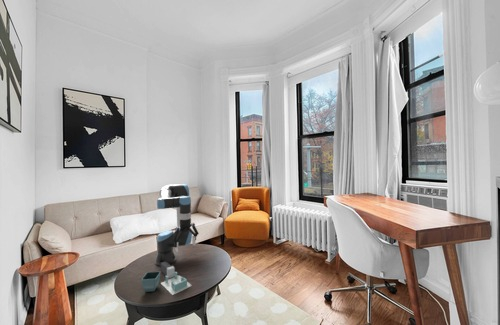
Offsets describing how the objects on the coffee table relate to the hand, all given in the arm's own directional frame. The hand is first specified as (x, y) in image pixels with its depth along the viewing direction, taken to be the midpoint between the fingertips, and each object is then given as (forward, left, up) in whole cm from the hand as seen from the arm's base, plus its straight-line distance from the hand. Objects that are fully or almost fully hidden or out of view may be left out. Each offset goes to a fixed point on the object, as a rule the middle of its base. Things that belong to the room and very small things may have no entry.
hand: (185, 248), depth 147 cm
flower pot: (-1, -23, -19) cm, 30 cm away
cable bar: (-11, -8, -19) cm, 24 cm away
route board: (+6, -10, -19) cm, 22 cm away
